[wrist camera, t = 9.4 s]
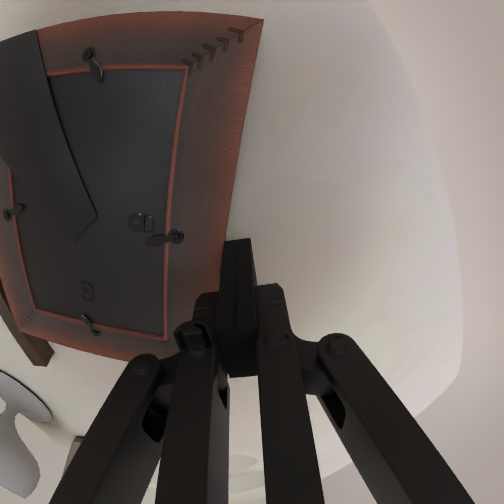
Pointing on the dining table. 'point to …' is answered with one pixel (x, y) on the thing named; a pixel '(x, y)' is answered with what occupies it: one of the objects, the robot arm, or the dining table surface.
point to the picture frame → (119, 173)
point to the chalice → (18, 438)
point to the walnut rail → (25, 336)
